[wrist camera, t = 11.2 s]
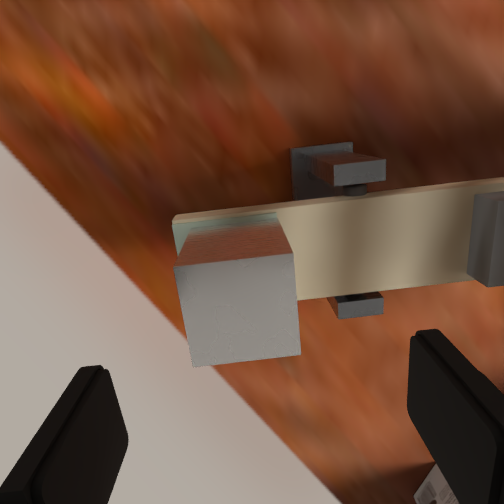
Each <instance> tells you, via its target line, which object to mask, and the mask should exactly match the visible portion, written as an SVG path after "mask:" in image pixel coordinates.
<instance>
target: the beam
mask: <svg viewBox="0 0 504 504" xmlns="http://www.w3.org/2000/svg"><path fill="white" fill-rule="evenodd" d="M272 218H278V219H279V222H280V224H281V226H282V228H283V231H284V233H285V235H286V237H287V239H288V242H289V244H290V246H291V248H292V251H293V253H294V266H295V280H296V293H297V300H306V299H315V298H323V297H332V296H340V295H349V294H363V293H366V292H375V291H384V290H392V289H401V288H410V287H418V286H427V285H435V284H444V283H453V282H461V281H470V280H477V281H479V282H480V283H482V284H483V285H485V286H486V287H495V286H504V177H498V178H490V179H481V180H472V181H464V182H455V183H446V184H438V185H429V186H420V187H412V188H403V189H394V190H386V191H377V192H368V193H367V185H366V184H351V185H344V186H343V195H342V196H334V197H325V198H316V199H308V200H299V201H290V202H282V203H273V204H264V205H256V206H247V207H238V208H230V209H221V210H212V211H204V212H195V213H187V214H178V215H175V217H174V218H173V220H172V229H173V234H174V239H175V244H176V250H177V255H179V253H180V251H181V249H182V246H183V244H184V242H185V240H186V238H187V235H188V233H189V231H190V229H191V228H194V227H203V226H212V225H220V224H229V223H237V222H246V221H255V220H263V219H272Z"/></svg>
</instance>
